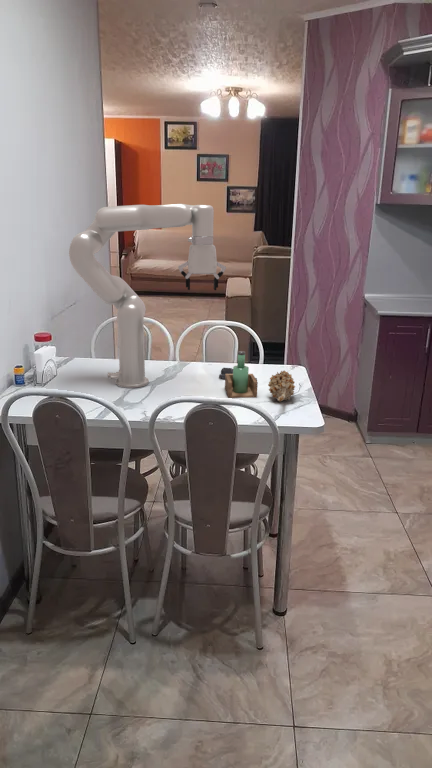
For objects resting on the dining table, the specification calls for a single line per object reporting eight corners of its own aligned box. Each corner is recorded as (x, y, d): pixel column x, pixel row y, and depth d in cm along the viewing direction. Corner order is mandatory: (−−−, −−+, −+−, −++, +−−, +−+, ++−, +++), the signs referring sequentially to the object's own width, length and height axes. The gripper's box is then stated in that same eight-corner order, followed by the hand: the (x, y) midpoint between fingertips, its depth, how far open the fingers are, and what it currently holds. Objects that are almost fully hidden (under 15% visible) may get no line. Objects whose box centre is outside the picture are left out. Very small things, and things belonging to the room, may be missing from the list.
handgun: (259, 375, 227) (256, 384, 216) (221, 372, 230) (216, 380, 219) (260, 370, 227) (256, 378, 215) (221, 366, 229) (216, 375, 218)
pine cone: (266, 391, 205) (267, 366, 202) (292, 392, 205) (294, 367, 202) (269, 413, 184) (271, 385, 181) (298, 414, 184) (300, 386, 181)
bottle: (233, 393, 200) (234, 354, 196) (231, 388, 205) (232, 350, 201) (248, 393, 201) (250, 354, 196) (246, 388, 206) (247, 350, 201)
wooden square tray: (228, 397, 198) (228, 382, 196) (224, 388, 208) (225, 373, 206) (256, 397, 199) (257, 382, 197) (252, 388, 209) (252, 373, 207)
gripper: (178, 241, 191) (178, 291, 196) (228, 242, 193) (226, 291, 198) (177, 240, 198) (177, 287, 204) (225, 241, 200) (224, 288, 205)
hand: (201, 289), depth 201 cm, fingers open, 9 cm apart
